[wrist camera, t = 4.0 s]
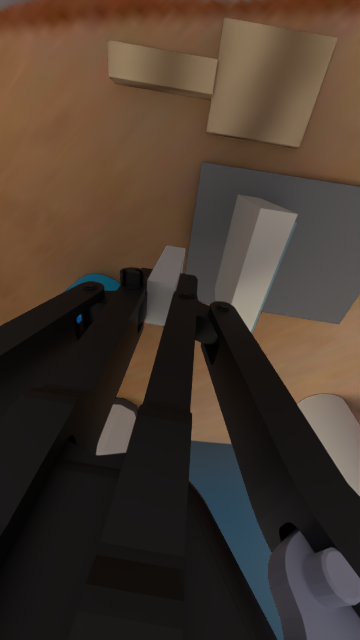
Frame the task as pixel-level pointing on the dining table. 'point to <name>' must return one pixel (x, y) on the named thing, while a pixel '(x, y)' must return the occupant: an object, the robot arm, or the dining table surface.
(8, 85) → the dining table surface
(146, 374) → the dining table surface
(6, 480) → the robot arm
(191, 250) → the mat
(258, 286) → the tile
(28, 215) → the dining table surface
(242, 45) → the turner
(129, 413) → the wine bottle
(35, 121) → the dining table surface
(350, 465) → the cup
